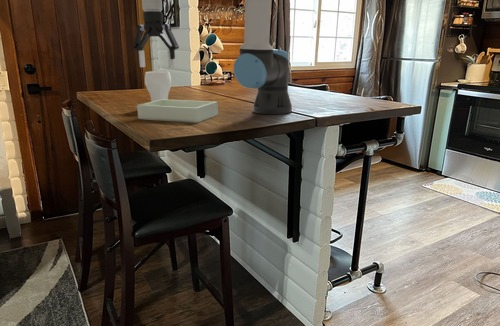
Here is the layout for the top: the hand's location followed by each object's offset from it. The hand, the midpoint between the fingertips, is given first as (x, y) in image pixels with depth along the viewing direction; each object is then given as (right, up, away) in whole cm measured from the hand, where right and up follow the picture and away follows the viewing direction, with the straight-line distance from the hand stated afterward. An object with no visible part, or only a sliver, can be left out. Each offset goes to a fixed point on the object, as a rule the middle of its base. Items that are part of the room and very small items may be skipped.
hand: (156, 67), depth 156 cm
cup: (0, -16, +5) cm, 17 cm away
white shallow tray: (+12, -22, -15) cm, 29 cm away
